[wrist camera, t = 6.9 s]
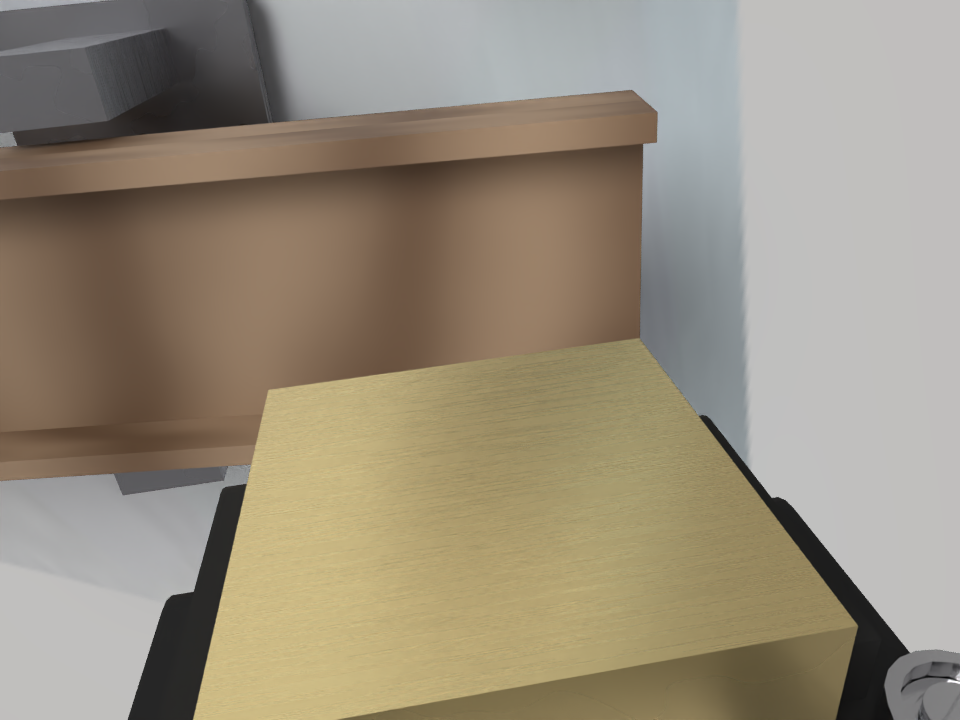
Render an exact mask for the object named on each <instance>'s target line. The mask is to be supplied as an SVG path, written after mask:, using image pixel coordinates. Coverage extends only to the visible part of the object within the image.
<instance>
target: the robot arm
mask: <svg viewBox="0 0 960 720" xmlns="http://www.w3.org/2000/svg"><path fill="white" fill-rule="evenodd" d="M699 417H700V419H701V420H702V421H703V423H704V424H705V425H706V426H707V428H708V429H709V430H710V432H711V433H712V434H713V436H714V437H715V438H716V440H717V441H718V442H719V444H720V445H721V446H722V448H723V449H724V450H725V451H726V453H727V454H728V455H729V457H730V458H731V459H732V461H733V462H734V463H735V465H736V466H737V467H738V469H739V470H740V471H741V473H742V474H743V475H744V476H745V478H746V479H747V480H748V482H749V483H750V484H751V486H752V487H753V488H754V490H755V491H756V492H757V494H758V495H759V496H760V497H761V499H762V500H763V501H764V503H765V504H766V505H767V507H768V508H769V509H770V511H771V512H772V513H773V515H774V516H775V517H776V519H777V520H778V521H779V522H780V524H781V525H782V526H783V528H784V529H785V530H786V532H787V533H788V534H789V536H790V537H791V538H792V540H793V541H794V542H795V544H796V545H797V546H798V547H799V549H800V550H801V551H802V553H803V554H804V555H805V557H806V558H807V559H808V561H809V562H810V563H811V565H812V566H813V567H814V569H815V570H816V571H817V572H818V574H819V575H820V576H821V578H822V579H823V580H824V582H825V583H826V584H827V586H828V587H829V588H830V590H831V591H832V592H833V594H834V595H835V596H836V597H837V599H838V600H839V601H840V603H841V604H842V605H843V607H844V608H845V609H846V611H847V612H848V613H849V615H850V616H851V617H852V619H853V620H854V621H855V622H856V624H857V625H858V628H857V633H856V637H855V641H854V645H853V649H852V653H851V658H850V662H849V666H848V670H847V674H846V678H845V682H844V687H843V691H842V695H841V699H840V703H839V707H838V712H837V716H836V720H960V653H954V652H948V651H943V650H923V651H915V652H912V653H910V652H909V651H908V650H907V649H906V647H905V646H904V645H903V644H902V642H901V641H900V640H899V639H898V637H897V636H896V635H895V634H894V632H893V631H892V630H891V629H890V627H889V626H888V625H887V624H886V622H885V621H884V620H883V619H882V618H881V616H880V615H879V614H878V613H877V611H876V610H875V609H874V608H873V606H872V605H871V604H870V603H869V601H868V600H867V599H866V598H865V596H864V595H863V594H862V593H861V591H860V590H859V589H858V588H857V586H856V585H855V584H854V583H853V582H852V580H851V579H850V578H849V577H848V575H847V574H846V573H845V572H844V570H843V569H842V568H841V567H840V566H839V564H838V563H837V562H836V560H835V559H834V558H833V557H832V556H831V554H830V553H829V552H828V551H827V549H826V548H825V547H824V545H823V544H822V543H821V542H820V541H819V539H818V538H817V537H816V536H815V534H814V533H813V532H812V531H811V529H810V528H809V527H808V526H807V524H806V523H805V522H804V521H803V519H802V518H801V517H800V516H799V514H798V513H797V512H796V511H795V510H794V508H793V507H792V506H791V505H790V504H788V502H787V501H786V500H784V499H781V498H779V497H776V498H771V497H770V495H769V494H768V493H767V491H766V490H765V489H764V487H763V486H762V485H761V484H760V482H759V481H758V480H757V478H756V477H755V476H754V475H753V473H752V472H751V471H750V470H749V468H748V467H747V466H746V464H745V463H744V462H743V461H742V459H741V458H740V457H739V455H738V454H737V453H736V452H735V450H734V449H733V448H732V446H731V445H730V444H729V443H728V441H727V440H726V439H725V437H724V436H723V435H722V434H721V432H720V431H719V430H718V428H717V427H716V426H715V425H714V423H713V422H712V421H711V420H710V419H709V418H708V417H707V416H704V415H701V416H699ZM246 486H247V484H243V485H236V486H230V487H225V488H223V490H222V492H221V494H220V498H219V502H218V505H217V509H216V513H215V516H214V520H213V524H212V527H211V531H210V534H209V538H208V542H207V545H206V549H205V553H204V556H203V560H202V564H201V567H200V571H199V575H198V578H197V582H196V586H195V589H194V592H190V593H184V594H178V595H172V596H171V597H170V598H169V599H168V600H167V601H166V603H165V605H164V608H163V610H162V613H161V616H160V619H159V622H158V625H157V629H156V632H155V635H154V638H153V642H152V644H151V647H150V651H149V654H148V658H147V660H146V663H145V667H144V670H143V673H142V676H141V680H140V682H139V685H138V689H137V692H136V695H135V699H134V702H133V705H132V708H131V711H130V714H129V717H128V720H193V718H194V714H195V710H196V705H197V701H198V696H199V692H200V688H201V683H202V679H203V675H204V670H205V666H206V661H207V657H208V653H209V648H210V644H211V639H212V635H213V631H214V626H215V622H216V618H217V613H218V609H219V604H220V600H221V596H222V591H223V587H224V582H225V578H226V574H227V569H228V565H229V561H230V556H231V552H232V547H233V543H234V539H235V534H236V530H237V525H238V521H239V517H240V512H241V508H242V504H243V499H244V495H245V490H246Z"/></svg>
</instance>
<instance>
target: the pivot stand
mask: <svg viewBox="0 0 960 720" xmlns="http://www.w3.org/2000/svg"><path fill="white" fill-rule="evenodd" d="M265 123H273V119H272V115H271V110H270V105H269V101H268V96H267V92H266V87H265V82H264V78H263V73H262V69H261V64H260V59H259V55H258V50H257V46H256V41H255V36H254V32H253V27H252V22H251V18H250V13H249V9H248V4H247V0H110V1H100V2H90V3H81V4H71V5H61V6H51V7H41V8H31V9H21V10H11V11H1V12H0V133H6V132H13V135H14V137H15V140H16V143H17V145H18V146H24V145H35V144H46V143H57V142H68V141H75V140H86V139H101V138H112V137H123V136H134V135H145V134H156V133H167V132H178V131H189V130H199V129H210V128H221V127H232V126H243V125H254V124H265ZM227 467H228V466H219V467H204V468H189V469H173V470H158V471H143V472H128V473H114V475H115V477H116V480H117V482H118V485H119V487H120V490H121V492H122V494H123V495H128V494H135V493H141V492H148V491H155V490H162V489H168V488H175V487H182V486H189V485H196V484H202V483H209V482H216V481H223V480H224V477H225V474H226V471H227Z"/></svg>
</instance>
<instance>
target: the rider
mask: <svg viewBox="0 0 960 720" xmlns="http://www.w3.org/2000/svg"><path fill="white" fill-rule="evenodd" d="M857 628H858V625H857V624H856V622H855V621H854V620H853V619H852V617H851V616H850V615H849V613H848V612H847V611H846V609H845V608H844V607H843V605H842V604H841V603H840V601H839V600H838V599H837V597H836V596H835V595H834V594H833V592H832V591H831V590H830V588H829V587H828V586H827V584H826V583H825V582H824V580H823V579H822V578H821V576H820V575H819V574H818V572H817V571H816V570H815V569H814V567H813V566H812V565H811V563H810V562H809V561H808V559H807V558H806V557H805V555H804V554H803V553H802V551H801V550H800V549H799V547H798V546H797V545H796V544H795V542H794V541H793V540H792V538H791V537H790V536H789V534H788V533H787V532H786V530H785V529H784V528H783V526H782V525H781V524H780V522H779V521H778V520H777V519H776V517H775V516H774V515H773V513H772V512H771V511H770V509H769V508H768V507H767V505H766V504H765V503H764V501H763V500H762V499H761V497H760V496H759V495H758V494H757V492H756V491H755V490H754V488H753V487H752V486H751V484H750V483H749V482H748V480H747V479H746V478H745V476H744V475H743V474H742V473H741V471H740V470H739V469H738V467H737V466H736V465H735V463H734V462H733V461H732V459H731V458H730V457H729V455H728V454H727V453H726V451H725V450H724V449H723V448H722V446H721V445H720V444H719V442H718V441H717V440H716V438H715V437H714V436H713V434H712V433H711V432H710V430H709V429H708V428H707V426H706V425H705V424H704V423H703V421H702V420H701V419H700V417H699V416H698V415H697V413H696V412H695V411H694V409H693V408H692V407H691V405H690V404H689V403H688V401H687V400H686V399H685V398H684V396H683V395H682V394H681V392H680V391H679V390H678V388H677V387H676V386H675V384H674V383H673V382H672V380H671V379H670V378H669V376H668V375H667V374H666V373H665V371H664V370H663V369H662V367H661V366H660V365H659V363H658V362H657V361H656V359H655V358H654V357H653V355H652V354H651V353H650V351H649V350H648V349H647V348H646V346H645V345H644V344H643V342H642V341H641V340H640V338H637V339H630V340H623V341H615V342H608V343H601V344H594V345H587V346H580V347H572V348H565V349H558V350H551V351H544V352H537V353H529V354H522V355H515V356H508V357H501V358H494V359H486V360H479V361H472V362H465V363H458V364H451V365H444V366H436V367H429V368H422V369H415V370H408V371H401V372H393V373H386V374H379V375H372V376H365V377H358V378H350V379H343V380H336V381H329V382H322V383H315V384H308V385H300V386H293V387H286V388H279V389H272V390H268V394H267V398H266V403H265V407H264V411H263V416H262V420H261V425H260V429H259V433H258V438H257V442H256V447H255V451H254V455H253V460H252V464H251V468H250V473H249V477H248V482H247V486H246V490H245V495H244V499H243V504H242V508H241V512H240V517H239V521H238V525H237V530H236V534H235V539H234V543H233V547H232V552H231V556H230V561H229V565H228V569H227V574H226V578H225V582H224V587H223V591H222V596H221V600H220V604H219V609H218V613H217V618H216V622H215V626H214V631H213V635H212V639H211V644H210V648H209V653H208V657H207V661H206V666H205V670H204V675H203V679H202V683H201V688H200V692H199V696H198V701H197V705H196V710H195V714H194V718H193V720H836V716H837V712H838V707H839V703H840V699H841V695H842V691H843V687H844V682H845V678H846V674H847V670H848V666H849V662H850V658H851V653H852V649H853V645H854V641H855V637H856V633H857Z"/></svg>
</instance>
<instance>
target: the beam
mask: <svg viewBox="0 0 960 720" xmlns="http://www.w3.org/2000/svg"><path fill="white" fill-rule="evenodd" d="M657 114H658V112H657V111H656V110H654V109H653V108H652V107H651V106H650V105H649V104H648V103H646V102H645V101H644V100H643V99H642V98H641V97H640V96H638V95H637V94H636V93H635V92H634V91H633V90H627V91H616V92H605V93H594V94H583V95H572V96H561V97H550V98H539V99H528V100H517V101H506V102H495V103H484V104H473V105H462V106H451V107H440V108H429V109H419V110H408V111H397V112H386V113H375V114H364V115H353V116H342V117H331V118H320V119H309V120H298V121H287V122H276V123H265V124H254V125H243V126H232V127H221V128H210V129H199V130H189V131H178V132H167V133H156V134H145V135H134V136H123V137H112V138H101V139H86V140H75V141H68V142H57V143H46V144H35V145H24V146H13V147H2V148H0V481H6V480H21V479H36V478H52V477H67V476H82V475H97V474H112V473H128V472H143V471H158V470H173V469H189V468H204V467H219V466H234V465H249V464H252V460H253V455H254V451H255V447H256V442H257V438H258V433H259V429H260V425H261V420H262V416H263V411H264V407H265V403H266V398H267V394H268V390H272V389H279V388H286V387H293V386H300V385H308V384H315V383H322V382H329V381H336V380H343V379H350V378H358V377H365V376H372V375H379V374H386V373H393V372H401V371H408V370H415V369H422V368H429V367H436V366H444V365H451V364H458V363H465V362H472V361H479V360H486V359H494V358H501V357H508V356H515V355H522V354H529V353H537V352H544V351H551V350H558V349H565V348H572V347H580V346H587V345H594V344H601V343H608V342H615V341H623V340H630V339H637V338H640V289H641V231H642V174H643V144H645V143H656V142H657Z"/></svg>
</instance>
